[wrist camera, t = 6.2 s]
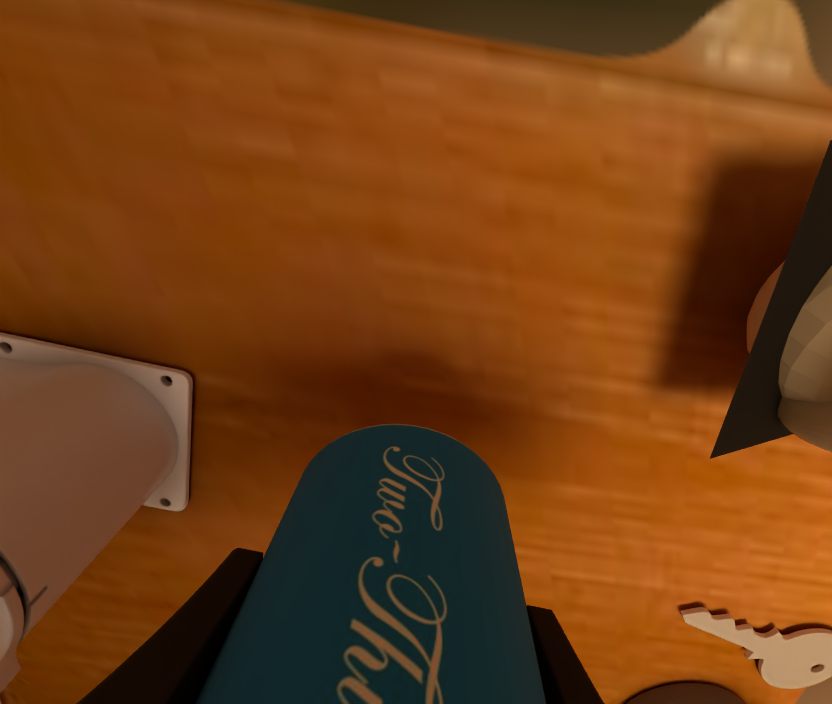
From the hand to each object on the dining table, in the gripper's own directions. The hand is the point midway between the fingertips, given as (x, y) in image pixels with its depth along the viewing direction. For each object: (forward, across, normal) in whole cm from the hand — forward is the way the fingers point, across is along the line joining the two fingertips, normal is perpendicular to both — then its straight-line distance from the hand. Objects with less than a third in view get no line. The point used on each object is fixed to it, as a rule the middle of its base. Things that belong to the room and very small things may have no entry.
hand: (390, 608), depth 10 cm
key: (+10, -23, +8) cm, 27 cm away
